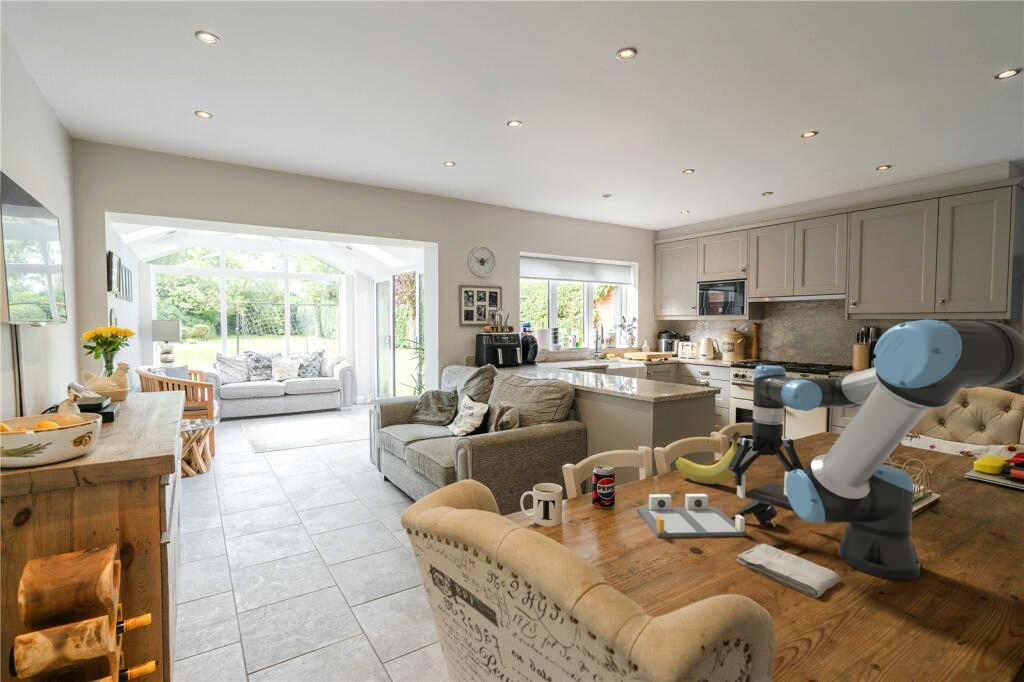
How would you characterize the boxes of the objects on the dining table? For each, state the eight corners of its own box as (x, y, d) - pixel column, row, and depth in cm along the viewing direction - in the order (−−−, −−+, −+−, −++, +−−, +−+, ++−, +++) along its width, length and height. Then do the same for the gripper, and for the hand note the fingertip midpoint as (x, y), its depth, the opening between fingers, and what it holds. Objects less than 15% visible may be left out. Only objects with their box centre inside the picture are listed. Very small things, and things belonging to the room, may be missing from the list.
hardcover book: (771, 488, 162) (771, 481, 162) (848, 510, 143) (849, 503, 143) (745, 498, 153) (746, 491, 153) (824, 523, 134) (825, 515, 134)
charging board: (747, 535, 125) (747, 517, 125) (657, 537, 124) (657, 518, 123) (716, 510, 142) (716, 493, 142) (637, 511, 141) (637, 494, 140)
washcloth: (759, 550, 118) (759, 538, 118) (842, 583, 103) (842, 569, 103) (733, 565, 111) (733, 552, 111) (818, 602, 96) (819, 587, 96)
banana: (671, 478, 171) (672, 423, 170) (678, 474, 175) (679, 420, 174) (738, 493, 155) (739, 433, 155) (743, 489, 160) (745, 430, 159)
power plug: (725, 513, 137) (763, 492, 135) (741, 536, 137) (779, 515, 134) (729, 521, 132) (769, 500, 129) (746, 545, 131) (786, 523, 129)
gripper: (802, 418, 136) (798, 490, 137) (717, 418, 134) (714, 491, 136) (820, 424, 128) (816, 501, 129) (730, 424, 127) (727, 502, 128)
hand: (764, 496), depth 133 cm, fingers open, 13 cm apart
